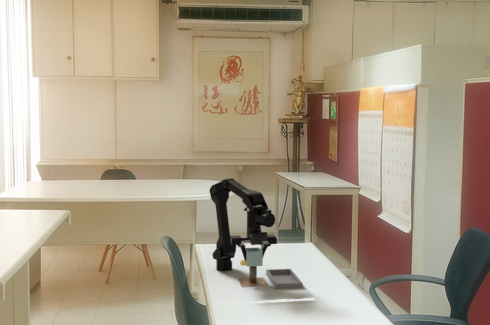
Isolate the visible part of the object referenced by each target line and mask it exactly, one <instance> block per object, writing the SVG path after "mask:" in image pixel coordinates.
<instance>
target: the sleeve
mask: <svg viewBox="0 0 490 325" xmlns="http://www.w3.org/2000/svg"><path fill="white" fill-rule="evenodd" d="M245 251H246V261H245V260H243V259H242V260H240V261H239V262H240V266H246V267H250V266H257V267H263V266H264V264H263V259H264V256H263V251H262V250H261V246H260V247H259V246H258V247H245Z"/></svg>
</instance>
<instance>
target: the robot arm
mask: <svg viewBox="0 0 490 325" xmlns="http://www.w3.org/2000/svg"><path fill="white" fill-rule="evenodd" d="M230 193H233V194H235V195H236V196H237V197H239V198H240V199H241V202H242V203H243V205H245V206H246V207H245V208H243V211H244V212H246V237H242V236H241V235H238V234H237V235H231V232H230V224H229V223H230V222H229V214H228V200H229V198H230ZM209 194H210V198H211V200H212V202H213V203H214V205H215V213H216V222H217V229H218V230H217V231H218V239H217V241H216V246H215V249H214V251H213V253H212V259H213V260H215V264H216V265H215V266H216V267H215V270H216V271H217V272H218V271H219V272H228V271H232V270H233V261H232V259H233V258H234V259H235V256H236V252H237V247H238V248H240V250H241V253H242V256H243V259H244V260H245V261H246V251H245V248H246V245H245V243H250V245H251V246H257V245H258V246H260V249H261V250H262V251H263V257H264V256H265V253H266V251H267V250H268V247H271V246H272V245H277V244H278V238H277V236H276V235H275V234H273V233H272V234H268V232H267V231H265V232H264V231H262V227H261V226H263V227H266V228H272V227H273V226H274V225H275V223H276V217H275V215H274V214H273V213H272V209H269V207H268V204H267V202H266V199H265V197H264V195H263V193H262V192H260V191H257V190H252V189H249V188H247V187H246V186H244V185H243V184H241V183H240V182H239V181H237V180H236V179H235V178H233V177H232V178H224V179H222V180H221V181H219V182H217V183H215V184H212V185H211V186H210V187H209Z"/></svg>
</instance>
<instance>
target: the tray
mask: <svg viewBox="0 0 490 325" xmlns="http://www.w3.org/2000/svg"><path fill="white" fill-rule="evenodd" d="M265 275H266V276H267V278H268V280H269V281H270V283H271V284H272V285H273V287H274V289H275V290H284V289H285V290H286V289H289V290H290V289H303V288H304V287H303V284H304V283H303V282H302V280H301V279H300V278H299V276H298V275H296V273H295V272H294V271H293V269H292V268H277V269H276V268H274V269H272V268H271V269H265Z"/></svg>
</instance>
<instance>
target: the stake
mask: <svg viewBox="0 0 490 325" xmlns="http://www.w3.org/2000/svg"><path fill="white" fill-rule="evenodd" d="M257 271H258V266H249V277H240V278H239V277H238V278H237V280H238V282H239V285H240V286H241V288H248V287H249V288H252V287H253V288H254V287H269V283H268V282H267V281H266V279H265V278H264V276H263V277H262V276H261V277H257V276H258V275H257V274H258V272H257Z"/></svg>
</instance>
